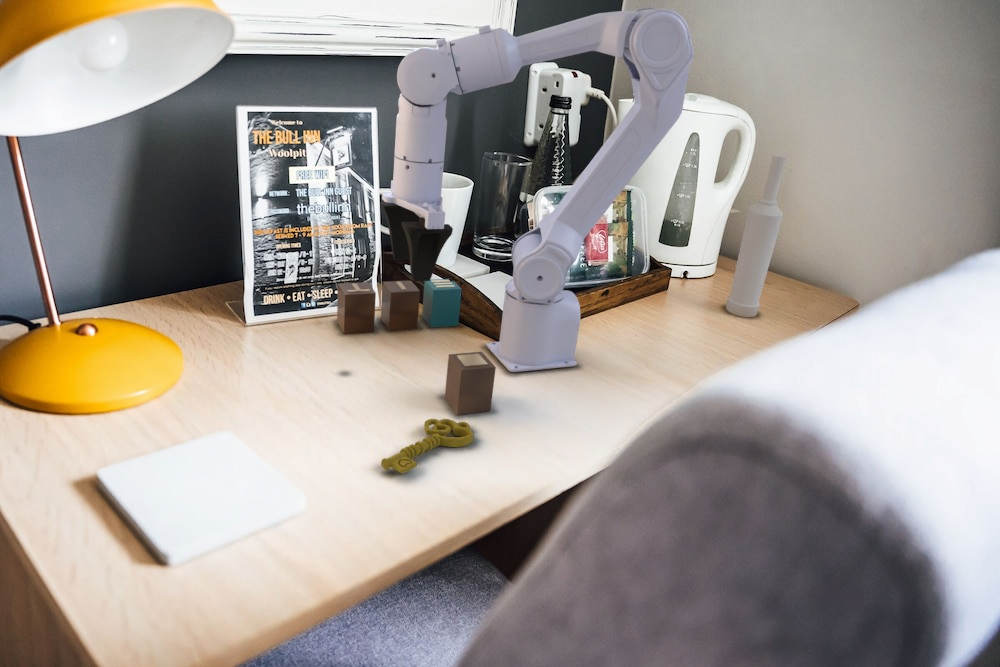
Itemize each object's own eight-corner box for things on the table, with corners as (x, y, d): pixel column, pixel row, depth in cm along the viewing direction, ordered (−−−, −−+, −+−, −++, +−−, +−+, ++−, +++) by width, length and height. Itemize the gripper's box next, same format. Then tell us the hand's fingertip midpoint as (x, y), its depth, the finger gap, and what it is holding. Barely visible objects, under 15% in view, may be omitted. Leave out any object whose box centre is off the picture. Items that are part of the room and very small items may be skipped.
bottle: (722, 303, 127) (759, 150, 117) (754, 308, 126) (793, 155, 116) (726, 314, 122) (765, 156, 112) (759, 319, 121) (801, 161, 112)
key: (400, 469, 71) (364, 446, 73) (399, 481, 71) (363, 458, 74) (484, 428, 79) (448, 409, 82) (482, 438, 80) (447, 420, 83)
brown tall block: (477, 394, 88) (481, 350, 86) (490, 411, 85) (496, 366, 83) (444, 398, 87) (448, 353, 85) (457, 415, 84) (461, 369, 81)
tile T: (366, 320, 105) (367, 281, 102) (374, 331, 101) (375, 292, 99) (336, 321, 103) (337, 282, 101) (343, 334, 100) (345, 293, 97)
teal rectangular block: (448, 315, 109) (452, 277, 107) (458, 326, 106) (461, 288, 104) (421, 316, 108) (424, 278, 106) (430, 327, 104) (433, 289, 102)
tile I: (408, 317, 107) (411, 279, 105) (417, 328, 104) (420, 289, 101) (380, 319, 105) (382, 280, 103) (388, 330, 102) (390, 291, 100)
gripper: (369, 143, 93) (364, 250, 99) (404, 171, 81) (396, 291, 87) (424, 145, 96) (416, 249, 101) (466, 173, 84) (455, 289, 89)
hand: (411, 269), depth 94 cm, fingers open, 7 cm apart
